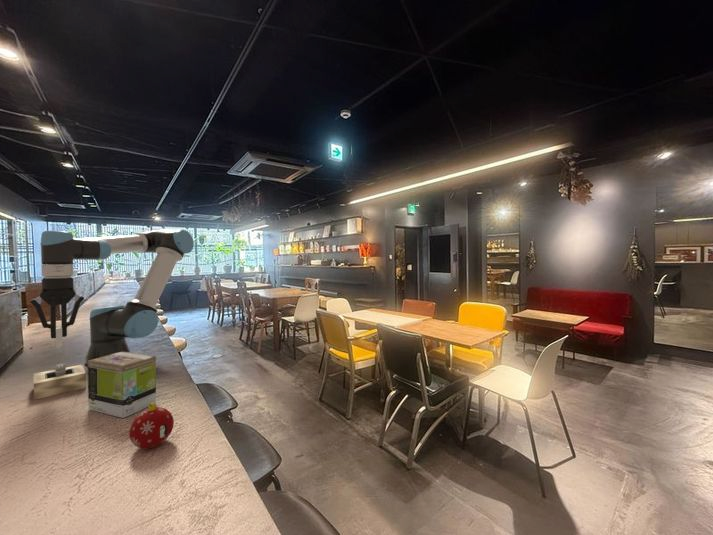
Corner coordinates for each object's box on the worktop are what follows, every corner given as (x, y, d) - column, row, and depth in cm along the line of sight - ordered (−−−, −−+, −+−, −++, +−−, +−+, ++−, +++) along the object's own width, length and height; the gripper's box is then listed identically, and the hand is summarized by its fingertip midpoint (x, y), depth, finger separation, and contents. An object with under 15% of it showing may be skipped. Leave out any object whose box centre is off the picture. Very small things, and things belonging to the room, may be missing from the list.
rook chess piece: (58, 391, 98) (58, 367, 98) (47, 390, 99) (47, 366, 99) (73, 385, 102) (73, 362, 102) (63, 384, 103) (62, 361, 103)
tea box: (157, 403, 90) (157, 355, 90) (122, 419, 81) (121, 366, 81) (123, 395, 95) (123, 349, 95) (86, 410, 86) (85, 359, 86)
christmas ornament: (162, 430, 76) (161, 392, 76) (181, 441, 71) (180, 400, 71) (122, 449, 68) (121, 406, 68) (140, 462, 64) (140, 416, 64)
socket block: (82, 378, 109) (82, 364, 109) (86, 387, 101) (85, 373, 101) (33, 388, 100) (33, 373, 100) (33, 399, 92) (33, 383, 92)
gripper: (28, 278, 92) (30, 354, 93) (85, 277, 102) (86, 345, 102) (29, 277, 97) (30, 349, 98) (83, 276, 107) (84, 341, 107)
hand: (59, 347), depth 100 cm, fingers closed
